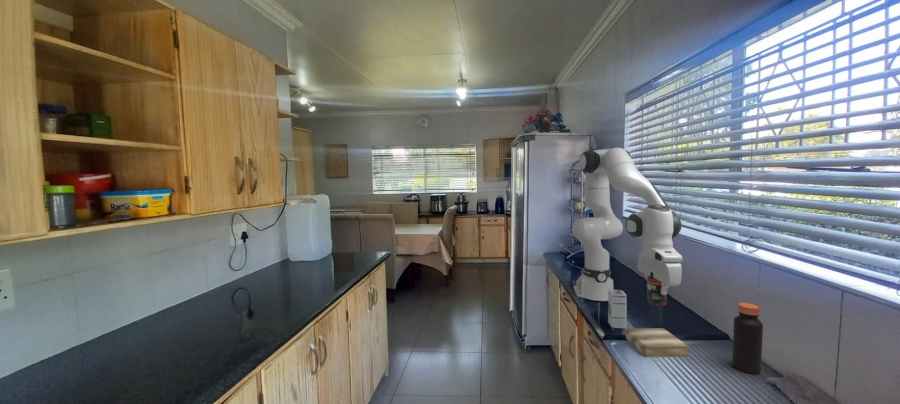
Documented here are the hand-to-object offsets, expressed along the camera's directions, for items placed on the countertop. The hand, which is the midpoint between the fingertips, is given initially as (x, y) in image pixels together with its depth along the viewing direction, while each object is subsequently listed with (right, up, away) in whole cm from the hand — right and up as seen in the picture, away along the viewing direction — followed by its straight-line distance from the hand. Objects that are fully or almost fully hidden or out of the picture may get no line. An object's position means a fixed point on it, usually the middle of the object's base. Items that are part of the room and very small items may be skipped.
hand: (656, 290), depth 119 cm
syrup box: (-6, -19, +17) cm, 27 cm away
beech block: (0, -21, +1) cm, 21 cm away
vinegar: (+20, -21, -13) cm, 32 cm away
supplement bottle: (0, -5, 0) cm, 5 cm away
